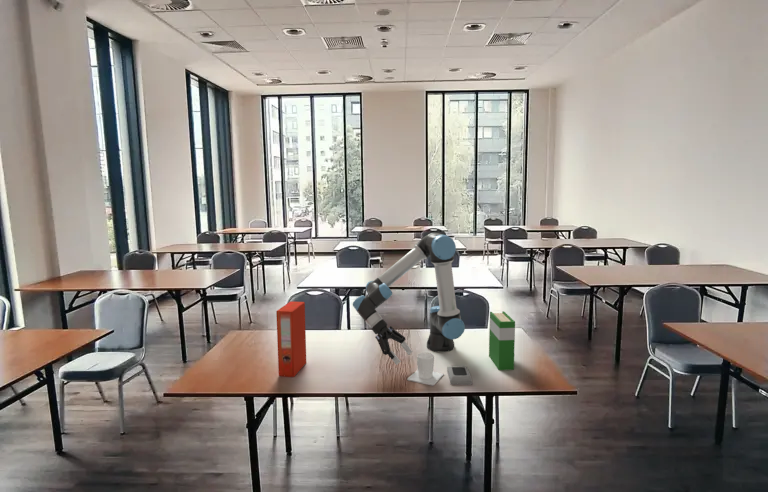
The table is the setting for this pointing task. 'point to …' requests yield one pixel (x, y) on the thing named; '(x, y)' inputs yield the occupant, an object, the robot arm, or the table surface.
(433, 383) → the mat
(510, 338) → the hardback book
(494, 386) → the table surface
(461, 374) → the grey box
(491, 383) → the table surface
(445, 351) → the robot arm
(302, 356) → the file binder
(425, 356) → the white cup
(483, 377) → the table surface
